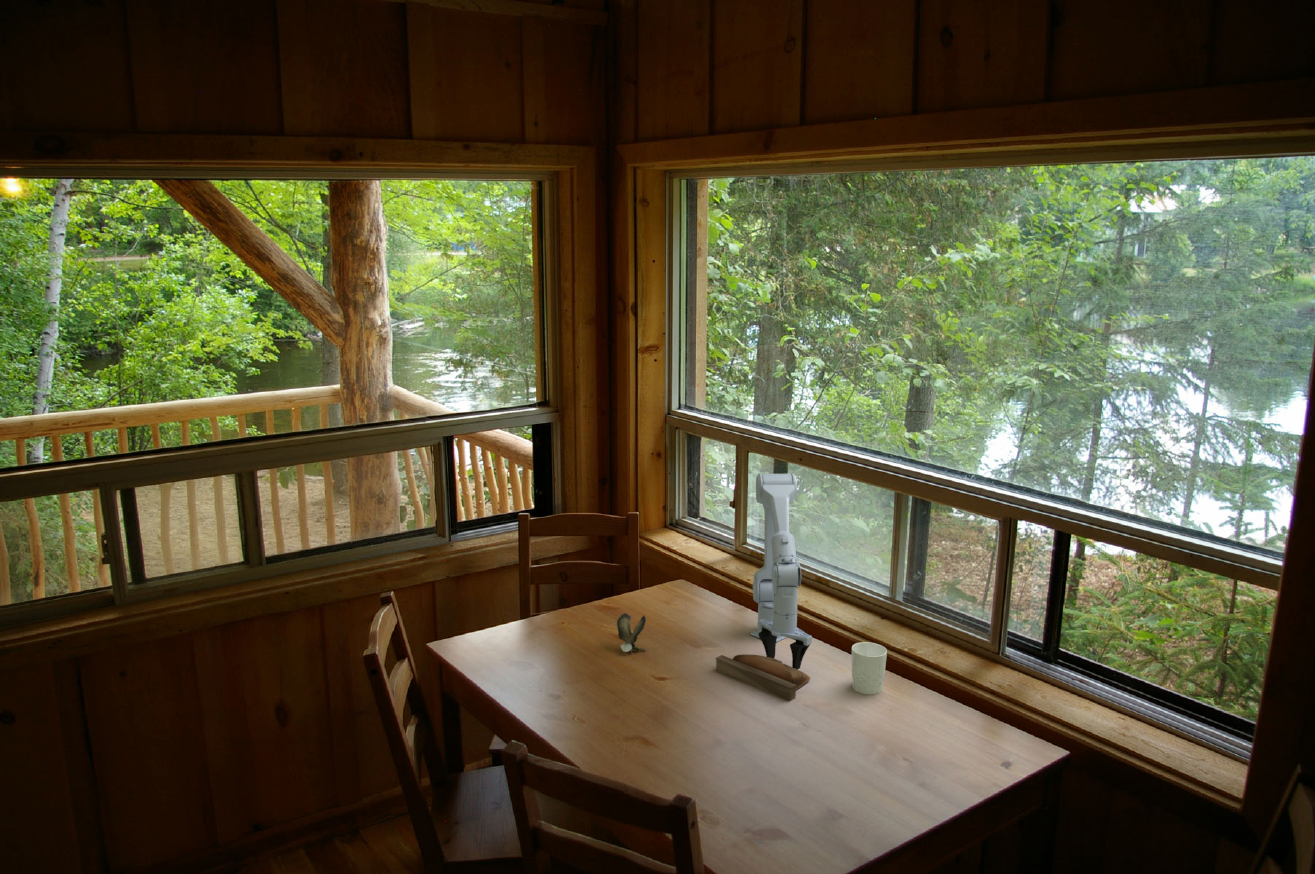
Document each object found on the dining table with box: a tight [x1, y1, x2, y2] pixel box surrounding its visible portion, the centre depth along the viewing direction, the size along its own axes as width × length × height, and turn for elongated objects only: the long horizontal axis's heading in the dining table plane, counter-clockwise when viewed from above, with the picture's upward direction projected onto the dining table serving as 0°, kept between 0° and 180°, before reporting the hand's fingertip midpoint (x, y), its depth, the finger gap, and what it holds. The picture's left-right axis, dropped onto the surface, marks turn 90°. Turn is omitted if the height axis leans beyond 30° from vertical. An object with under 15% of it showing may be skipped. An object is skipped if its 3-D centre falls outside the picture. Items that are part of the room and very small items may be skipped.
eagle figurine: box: [616, 612, 648, 655], centre depth 225 cm, size 8×7×9 cm
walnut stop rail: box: [715, 654, 797, 702], centre depth 207 cm, size 2×22×3 cm, turn 45°
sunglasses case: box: [732, 654, 811, 691], centre depth 211 cm, size 18×7×7 cm
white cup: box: [851, 641, 888, 695], centre depth 204 cm, size 8×8×10 cm
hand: (783, 663), depth 215 cm, fingers open, 7 cm apart
